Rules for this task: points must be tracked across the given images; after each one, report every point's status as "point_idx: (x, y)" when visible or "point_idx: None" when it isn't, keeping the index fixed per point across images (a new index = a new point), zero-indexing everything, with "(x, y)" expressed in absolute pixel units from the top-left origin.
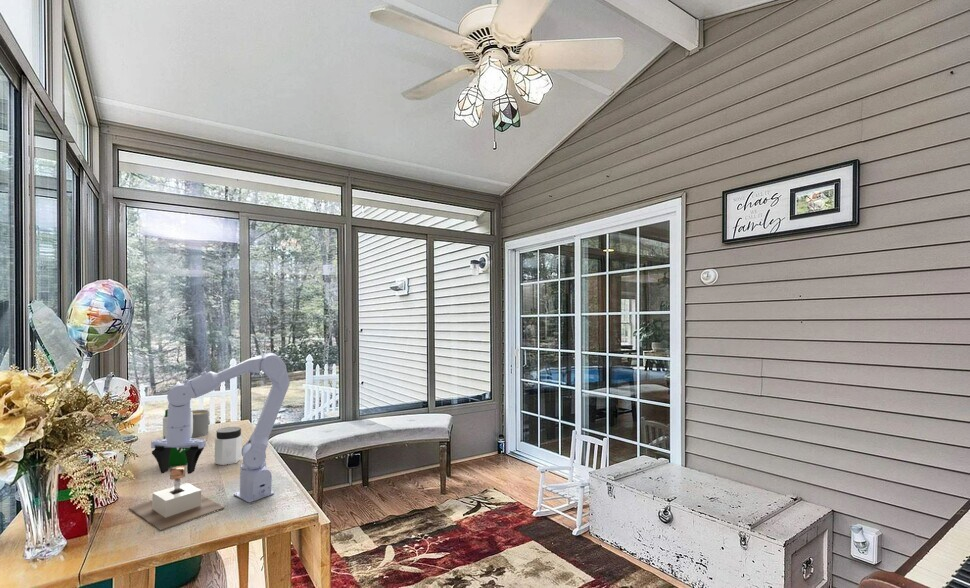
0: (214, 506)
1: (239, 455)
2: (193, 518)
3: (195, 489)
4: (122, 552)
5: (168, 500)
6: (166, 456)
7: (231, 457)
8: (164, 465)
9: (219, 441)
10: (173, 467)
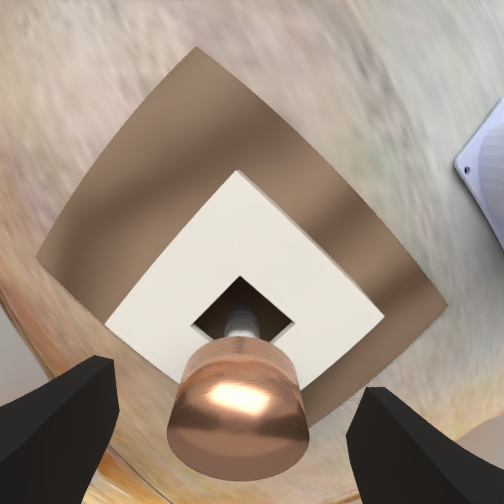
0: (414, 295)
1: None
2: (360, 386)
3: (350, 307)
4: (238, 501)
5: None
6: (39, 489)
7: None
8: (90, 446)
9: None
10: (175, 423)
